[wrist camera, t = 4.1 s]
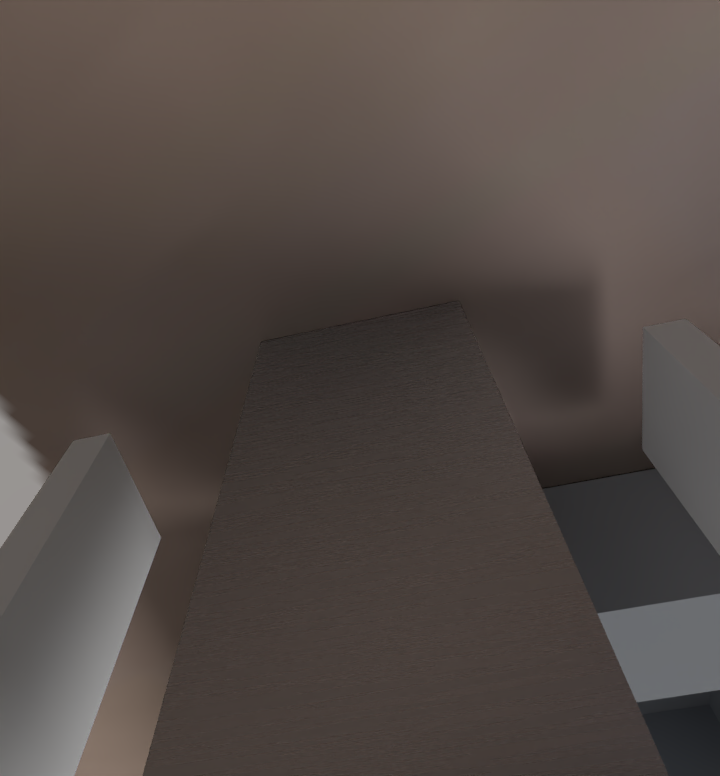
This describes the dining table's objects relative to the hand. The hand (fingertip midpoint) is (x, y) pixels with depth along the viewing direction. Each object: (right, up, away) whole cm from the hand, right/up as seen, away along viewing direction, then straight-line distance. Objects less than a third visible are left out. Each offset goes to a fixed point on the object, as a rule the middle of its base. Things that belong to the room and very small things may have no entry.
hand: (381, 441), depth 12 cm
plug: (0, +1, +1) cm, 1 cm away
